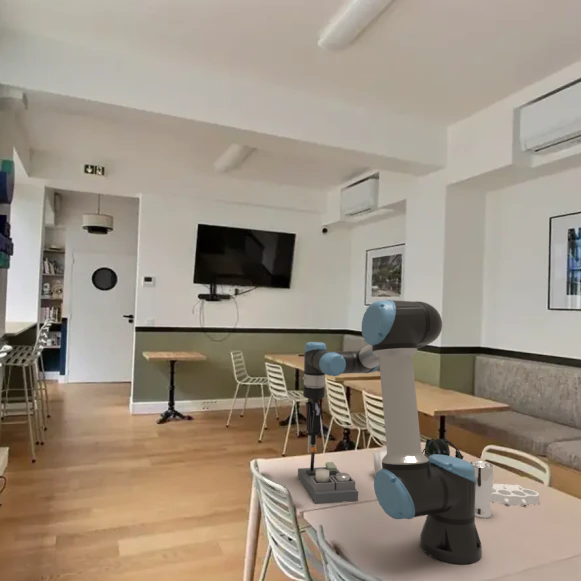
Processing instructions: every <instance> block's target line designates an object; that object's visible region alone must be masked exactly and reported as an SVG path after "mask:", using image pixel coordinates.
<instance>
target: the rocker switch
mask: <svg viewBox="0 0 581 581" xmlns="http://www.w3.org/2000/svg"><path fill="white" fill-rule="evenodd" d="M324 467H327V469H328V470H329V471H337V469H338V468H337V466H336V464H335V463H334V461H331V462H330V461H329V462H328V461H326V462H325V465H324Z"/></svg>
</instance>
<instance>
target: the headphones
mask: <svg viewBox="0 0 581 581" xmlns="http://www.w3.org/2000/svg"><path fill="white" fill-rule="evenodd" d="M449 445H450V446H451V447H452V448H454V450H455V453H454V454H455V456H454V457H456V458H459V459H462V460H464V457H465V456H464V455H463V454H462V453H461V451H460V450H459V449H458V447H457V446H455V445H454V443H452V442H451V441H450V440H448V439H446V438H437V439H434V438H431V439H429V438H426V441H425V445H424V448H423V449H422V453H423V454H424V455H425V456H426V457H427V458H428V459H429V456H430V455H433V454H439V455H447V456H451V451H450V447H449Z"/></svg>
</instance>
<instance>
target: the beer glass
mask: <svg viewBox="0 0 581 581" xmlns="http://www.w3.org/2000/svg"><path fill="white" fill-rule="evenodd" d="M469 463H470V464H472V465H473V467H474V469H475V480H476V485H475V518H481V519H489V518H491V517H492V510H491V503H490V500H491V494H492V489H493V484H494V465H493V464H492V463H489V462H487V461H482V460H472V461H470V462H469Z"/></svg>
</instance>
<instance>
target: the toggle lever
mask: <svg viewBox="0 0 581 581" xmlns="http://www.w3.org/2000/svg"><path fill="white" fill-rule="evenodd" d="M310 452H311V454H310V467H309V468H310V470H311V471H313V470H314V468H315V458H316V457H315V455H316V454H317V452H318V449H317V446H316V447H315V446H311V447H310Z"/></svg>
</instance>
